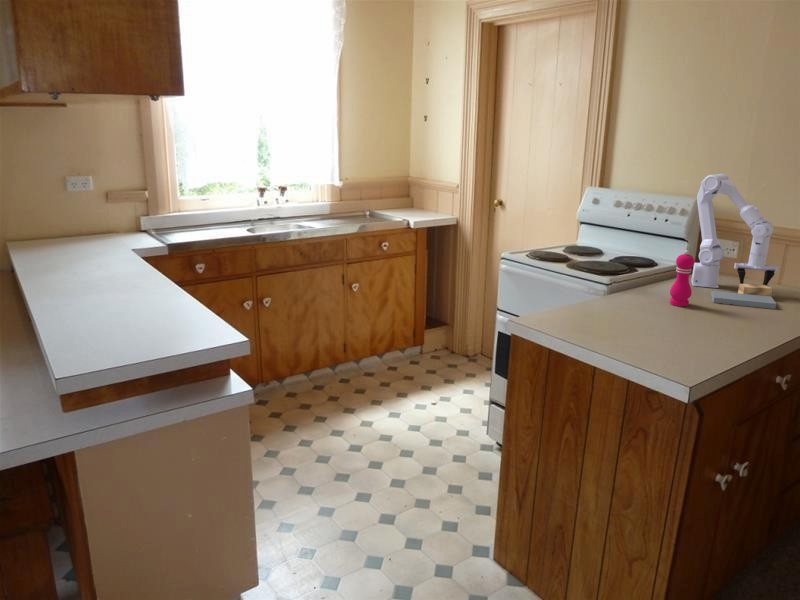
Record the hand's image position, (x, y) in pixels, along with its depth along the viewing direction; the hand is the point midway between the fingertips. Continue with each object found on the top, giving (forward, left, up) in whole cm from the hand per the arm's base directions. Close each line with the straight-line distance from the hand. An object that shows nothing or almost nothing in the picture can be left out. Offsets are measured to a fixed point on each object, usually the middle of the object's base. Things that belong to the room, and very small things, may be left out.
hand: (752, 288), depth 241 cm
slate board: (-5, -14, -2) cm, 15 cm away
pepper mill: (-27, -26, -2) cm, 38 cm away
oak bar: (0, -5, -2) cm, 5 cm away
